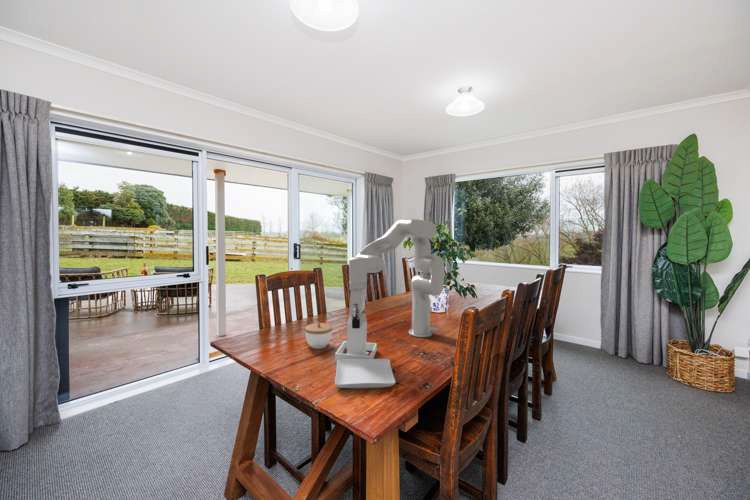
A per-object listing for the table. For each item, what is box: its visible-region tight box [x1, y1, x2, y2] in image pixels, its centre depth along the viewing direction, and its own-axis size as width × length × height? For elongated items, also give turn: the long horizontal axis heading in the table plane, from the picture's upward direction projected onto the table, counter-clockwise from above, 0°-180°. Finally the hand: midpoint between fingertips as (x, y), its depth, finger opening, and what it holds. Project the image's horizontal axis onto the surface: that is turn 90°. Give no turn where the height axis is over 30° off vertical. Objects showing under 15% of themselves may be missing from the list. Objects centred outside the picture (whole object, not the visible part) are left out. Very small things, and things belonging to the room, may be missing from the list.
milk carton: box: [346, 311, 368, 355], centre depth 139 cm, size 7×7×19 cm
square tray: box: [334, 340, 378, 363], centre depth 140 cm, size 15×15×4 cm
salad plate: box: [334, 358, 396, 389], centre depth 120 cm, size 21×21×3 cm
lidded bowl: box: [304, 322, 333, 350], centre depth 151 cm, size 13×13×11 cm
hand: (358, 324), depth 140 cm, fingers open, 9 cm apart
